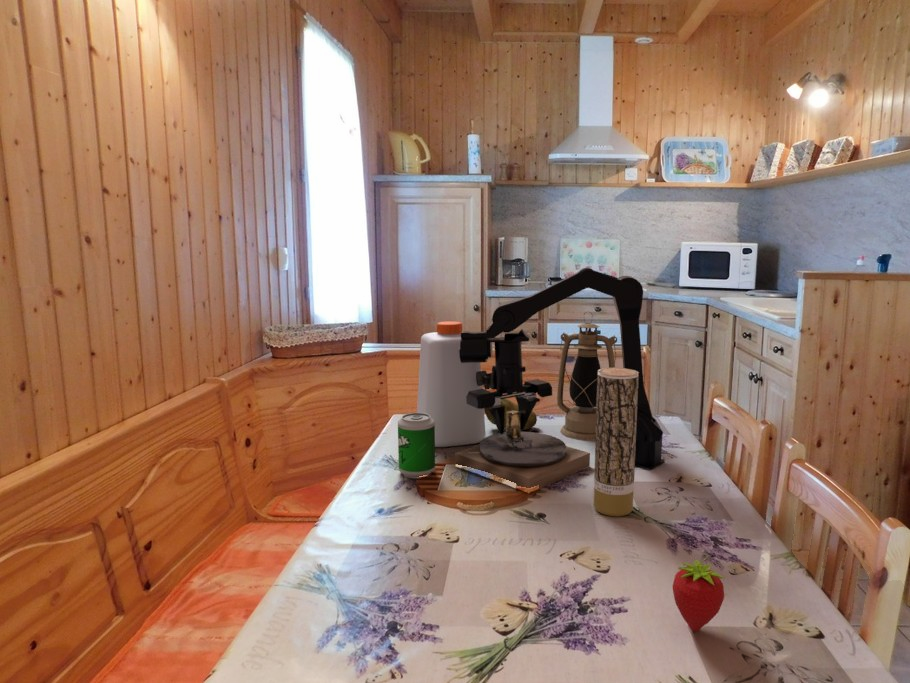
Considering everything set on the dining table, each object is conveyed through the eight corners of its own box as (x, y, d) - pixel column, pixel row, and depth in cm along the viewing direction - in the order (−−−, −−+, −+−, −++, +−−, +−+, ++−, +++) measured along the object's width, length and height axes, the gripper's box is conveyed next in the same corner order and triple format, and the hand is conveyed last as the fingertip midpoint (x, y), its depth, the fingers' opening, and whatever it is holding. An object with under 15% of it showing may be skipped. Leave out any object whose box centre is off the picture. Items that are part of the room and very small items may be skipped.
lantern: (619, 429, 158) (623, 310, 153) (610, 443, 148) (615, 316, 143) (562, 422, 164) (565, 307, 159) (550, 435, 154) (552, 313, 149)
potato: (533, 436, 153) (533, 404, 152) (481, 432, 157) (481, 400, 156) (538, 426, 161) (538, 395, 160) (488, 422, 165) (488, 392, 163)
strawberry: (721, 618, 80) (726, 544, 79) (721, 654, 73) (727, 574, 72) (672, 608, 82) (676, 536, 81) (668, 642, 76) (672, 564, 74)
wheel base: (589, 466, 133) (589, 452, 133) (529, 493, 119) (529, 478, 119) (516, 444, 147) (516, 431, 147) (455, 466, 133) (455, 452, 133)
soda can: (437, 467, 133) (436, 412, 131) (432, 480, 126) (432, 422, 124) (402, 466, 134) (401, 411, 132) (395, 479, 127) (394, 421, 125)
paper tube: (634, 519, 108) (640, 376, 104) (593, 516, 110) (597, 375, 105) (631, 503, 115) (637, 368, 111) (593, 500, 116) (597, 367, 112)
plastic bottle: (412, 431, 158) (410, 320, 153) (469, 425, 162) (469, 317, 158) (428, 450, 144) (426, 328, 139) (490, 443, 148) (491, 325, 143)
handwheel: (579, 463, 126) (579, 431, 125) (490, 470, 122) (491, 437, 121) (549, 435, 143) (549, 407, 142) (471, 440, 140) (471, 412, 139)
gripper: (524, 351, 147) (527, 416, 150) (453, 362, 139) (456, 430, 141) (552, 358, 137) (554, 427, 140) (477, 370, 129) (480, 443, 132)
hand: (511, 431), depth 138 cm, fingers open, 5 cm apart
